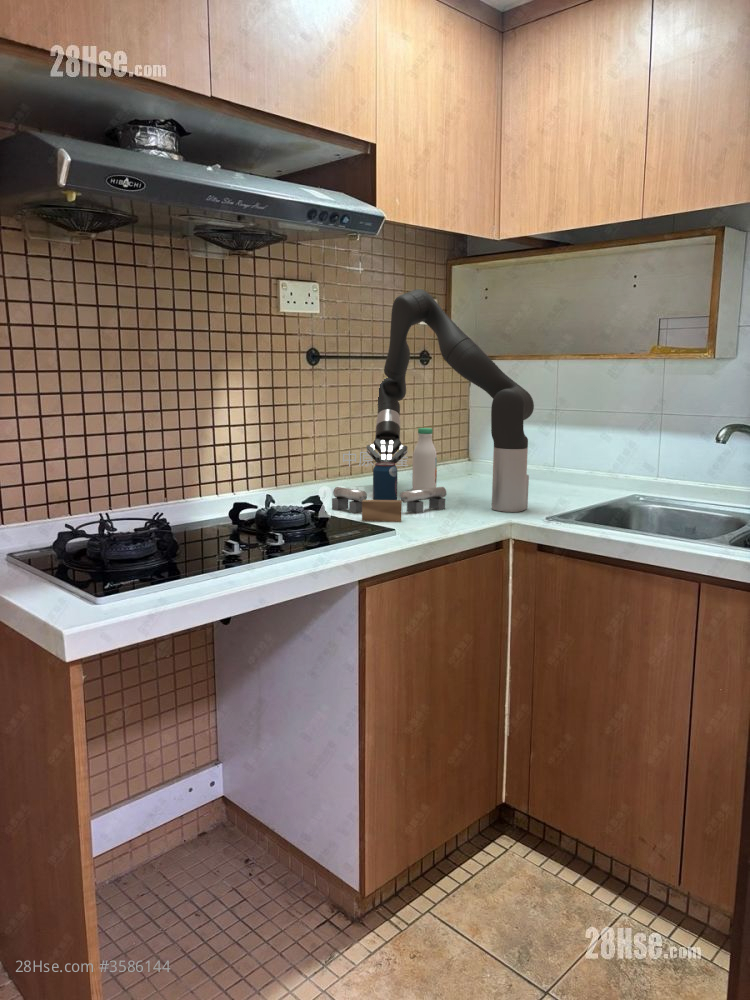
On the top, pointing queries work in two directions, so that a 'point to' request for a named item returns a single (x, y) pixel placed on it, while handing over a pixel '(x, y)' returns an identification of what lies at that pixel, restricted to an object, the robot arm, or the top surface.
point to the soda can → (385, 481)
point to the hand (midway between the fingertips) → (385, 472)
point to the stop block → (381, 510)
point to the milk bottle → (424, 461)
